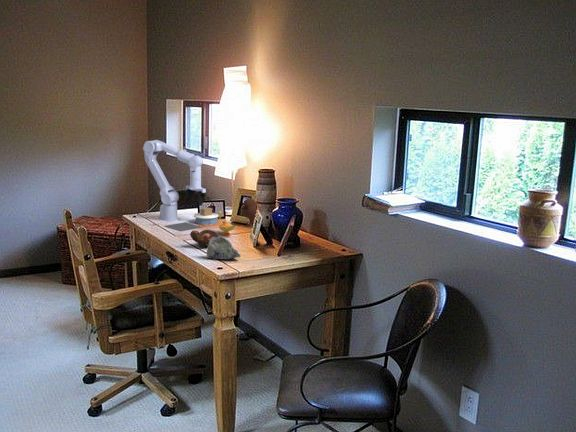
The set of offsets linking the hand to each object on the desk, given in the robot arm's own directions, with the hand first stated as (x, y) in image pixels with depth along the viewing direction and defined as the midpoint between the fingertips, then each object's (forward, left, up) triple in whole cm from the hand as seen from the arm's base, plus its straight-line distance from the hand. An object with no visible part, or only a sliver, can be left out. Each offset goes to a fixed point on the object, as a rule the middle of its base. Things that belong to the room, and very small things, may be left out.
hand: (195, 204), depth 306 cm
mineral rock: (+62, -34, -10) cm, 71 cm away
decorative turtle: (+42, -26, -10) cm, 50 cm away
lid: (+5, +3, -6) cm, 8 cm away
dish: (+5, +4, -10) cm, 12 cm away
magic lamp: (+32, -5, -10) cm, 34 cm away
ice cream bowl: (+25, +17, -10) cm, 32 cm away
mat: (+5, -12, -10) cm, 16 cm away
